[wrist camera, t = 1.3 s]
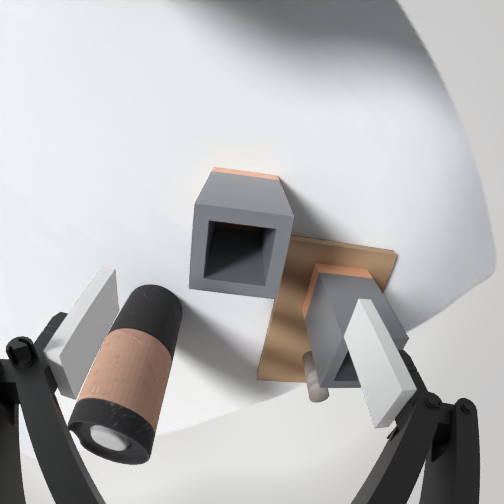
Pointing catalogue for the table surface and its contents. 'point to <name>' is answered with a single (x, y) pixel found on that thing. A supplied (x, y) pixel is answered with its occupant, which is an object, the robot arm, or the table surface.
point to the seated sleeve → (341, 320)
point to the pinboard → (292, 300)
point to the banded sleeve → (240, 234)
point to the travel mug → (129, 379)
